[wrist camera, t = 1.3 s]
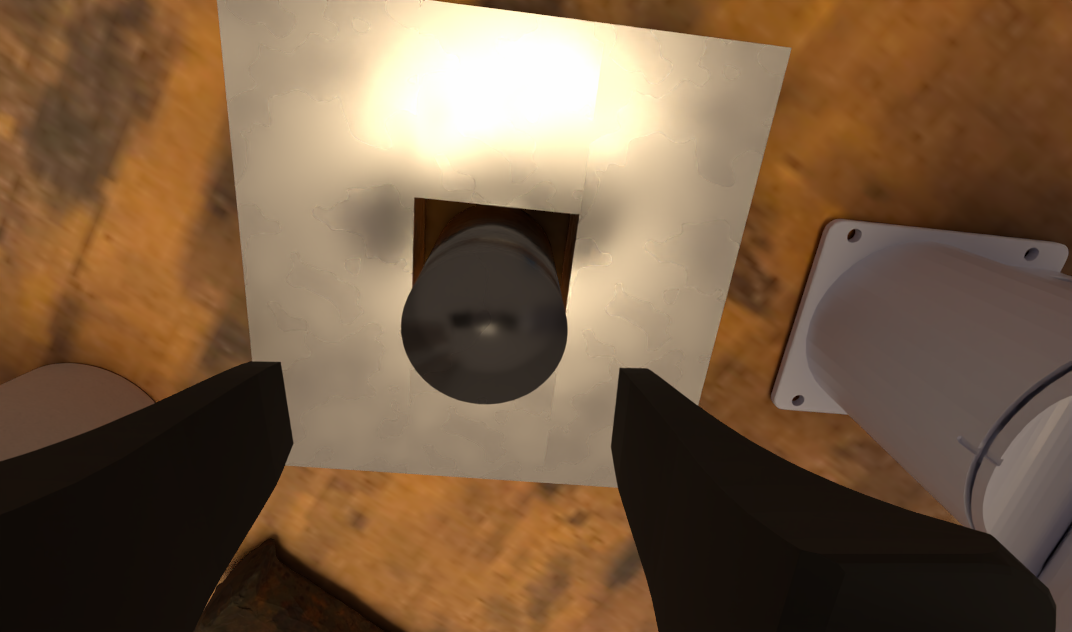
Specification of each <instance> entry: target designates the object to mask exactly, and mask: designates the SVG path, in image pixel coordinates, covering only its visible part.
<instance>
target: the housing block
mask: <svg viewBox="0 0 1072 632" xmlns="http://www.w3.org/2000/svg"><path fill="white" fill-rule="evenodd" d="M217 5H218V15H219V26H220V36H221V46H222V56H223V66H224V77H225V87H226V97H227V107H228V118H229V128H230V138H231V148H232V158H233V169H234V179H235V189H236V199H237V209H238V220H239V230H240V240H241V250H242V260H243V271H244V281H245V291H246V301H247V311H248V322H249V332H250V342H251V352H252V361H263V362H281V366H282V373H283V379H284V385H285V392H286V398H287V404H288V411H289V417H290V423H291V430H292V436H293V442H294V444H293V446H292V449H291V451H290V454H289V456H288V459H287V461H286V464H285V465H288V466H303V467H318V468H333V469H348V470H362V471H377V472H392V473H407V474H422V475H437V476H452V477H467V478H482V479H497V480H512V481H527V482H542V483H557V484H572V485H587V486H602V487H617V488H618V486H617V481H616V475H615V470H614V464H613V457H612V451H611V440H612V431H613V422H614V413H615V404H616V395H617V386H618V377H619V368H648V369H649V370H651V371H653V372H654V373H655V374H657V375H658V376H660V377H661V378H662V379H664V380H665V381H666V382H667V383H669V384H670V385H671V386H673V387H674V388H675V389H677V390H678V391H679V392H680V393H682V394H683V395H684V396H686V397H687V398H688V399H690V400H691V401H692V402H694V403H695V404H696V405H698V404H699V400H700V396H701V392H702V388H703V385H704V381H705V377H706V373H707V369H708V365H709V362H710V358H711V354H712V350H713V346H714V342H715V339H716V335H717V331H718V327H719V323H720V320H721V316H722V312H723V308H724V304H725V300H726V297H727V293H728V289H729V285H730V281H731V277H732V274H733V270H734V266H735V262H736V258H737V254H738V251H739V247H740V243H741V239H742V235H743V232H744V228H745V224H746V220H747V216H748V212H749V209H750V205H751V201H752V197H753V193H754V189H755V186H756V182H757V178H758V174H759V170H760V166H761V163H762V159H763V155H764V151H765V147H766V144H767V140H768V136H769V132H770V128H771V124H772V121H773V117H774V113H775V109H776V105H777V101H778V98H779V94H780V90H781V86H782V82H783V79H784V75H785V71H786V67H787V63H788V59H789V56H790V52H791V48H788V47H781V46H773V45H766V44H758V43H750V42H743V41H735V40H728V39H720V38H712V37H705V36H697V35H690V34H682V33H675V32H667V31H659V30H652V29H644V28H637V27H629V26H622V25H614V24H606V23H599V22H591V21H584V20H576V19H568V18H561V17H553V16H546V15H538V14H531V13H523V12H515V11H508V10H500V9H493V8H485V7H477V6H470V5H462V4H455V3H447V2H440V1H432V0H217ZM426 198H427V199H436V200H446V201H455V202H465V203H475V204H484V205H494V206H503V207H513V208H522V209H532V210H541V211H551V212H561V213H570V218H569V226H568V233H567V240H566V248H565V255H564V263H563V270H562V277H561V285H560V290H561V295H562V299H563V304H564V308H565V313H566V317H567V325H568V335H567V343H566V347H565V351H564V354H563V356H562V359H561V361H560V363H559V365H558V366H557V368H556V369H555V371H554V372H553V374H552V375H551V376H550V377H549V378H548V379H547V380H546V381H545V382H544V383H543V384H542V385H541V386H539V387H538V388H537V389H535V390H534V391H532V392H531V393H529V394H527V395H525V396H523V397H521V398H518V399H515V400H512V401H509V402H505V403H500V404H473V403H467V402H463V401H459V400H456V399H454V398H451V397H449V396H447V395H445V394H443V393H441V392H439V391H438V390H436V389H435V388H433V387H432V386H430V385H429V384H428V383H427V382H426V381H425V380H424V379H423V378H422V377H421V376H420V375H419V374H418V373H417V371H416V370H415V369H414V367H413V366H412V364H411V362H410V361H409V359H408V357H407V355H406V352H405V349H404V346H403V341H402V336H401V318H402V312H403V308H404V305H405V302H406V300H407V297H408V295H409V293H410V291H411V290H412V288H413V286H414V284H415V282H416V280H417V278H418V276H419V274H420V273H421V271H422V269H423V267H424V246H425V217H426Z"/></svg>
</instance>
